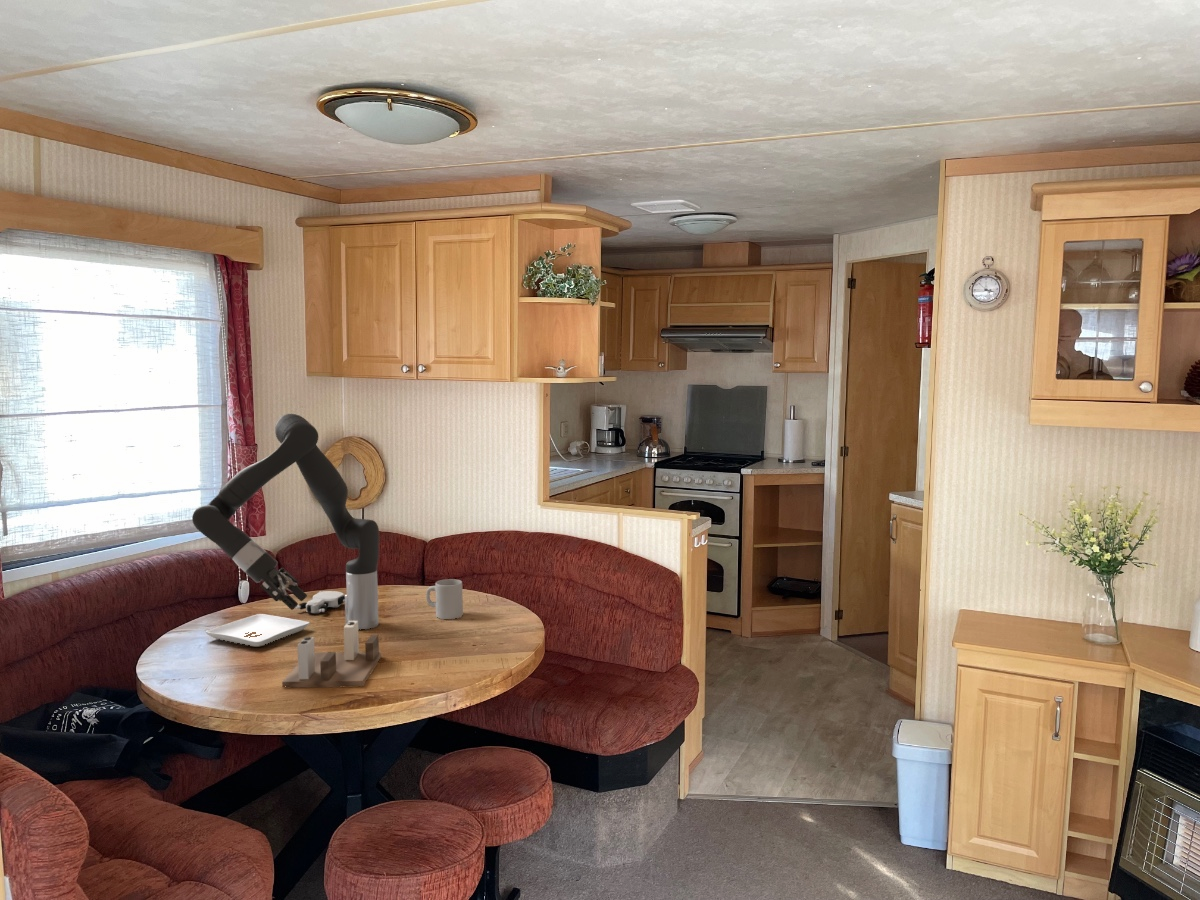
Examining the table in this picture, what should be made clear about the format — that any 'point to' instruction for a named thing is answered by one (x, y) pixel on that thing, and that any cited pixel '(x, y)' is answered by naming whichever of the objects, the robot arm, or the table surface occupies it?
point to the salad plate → (258, 629)
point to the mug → (447, 598)
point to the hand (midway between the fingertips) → (300, 602)
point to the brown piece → (339, 668)
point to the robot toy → (323, 601)
